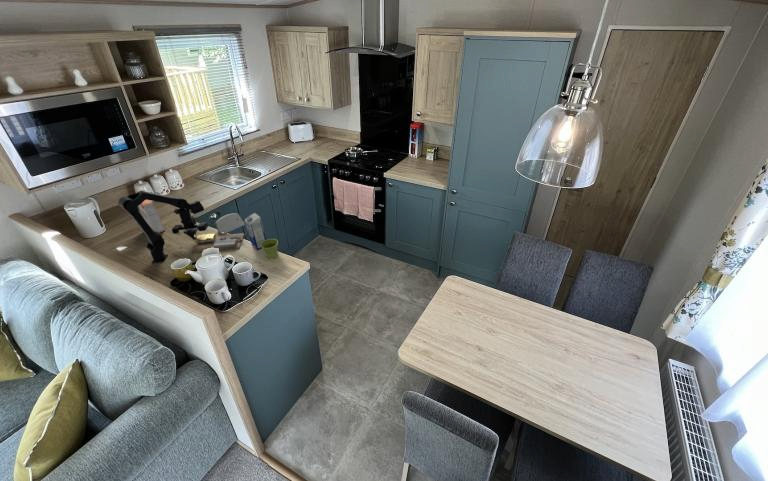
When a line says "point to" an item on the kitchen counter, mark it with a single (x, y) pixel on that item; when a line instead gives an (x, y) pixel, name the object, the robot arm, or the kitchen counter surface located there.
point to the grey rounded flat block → (229, 223)
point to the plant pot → (270, 248)
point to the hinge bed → (211, 244)
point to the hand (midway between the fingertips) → (195, 239)
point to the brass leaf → (205, 237)
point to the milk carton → (255, 230)
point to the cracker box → (151, 216)
